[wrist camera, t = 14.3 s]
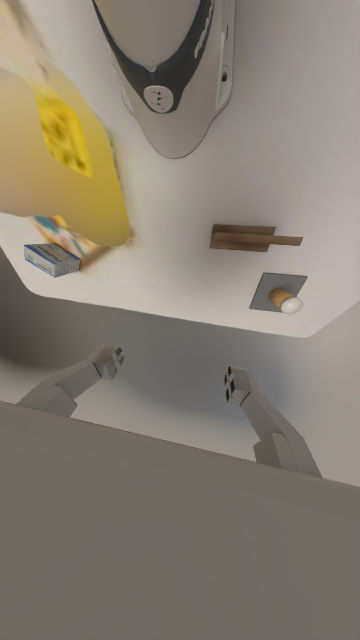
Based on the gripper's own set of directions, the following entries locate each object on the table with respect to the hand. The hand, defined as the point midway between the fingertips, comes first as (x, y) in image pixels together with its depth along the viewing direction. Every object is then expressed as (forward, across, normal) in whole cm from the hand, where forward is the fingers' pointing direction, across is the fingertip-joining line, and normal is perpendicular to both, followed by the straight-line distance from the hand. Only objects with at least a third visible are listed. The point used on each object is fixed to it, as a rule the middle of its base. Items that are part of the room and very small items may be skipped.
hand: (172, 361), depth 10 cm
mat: (+34, -24, +6) cm, 42 cm away
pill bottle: (+33, -24, +6) cm, 41 cm away
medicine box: (+33, +41, +1) cm, 53 cm away
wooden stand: (+34, -10, -7) cm, 36 cm away
